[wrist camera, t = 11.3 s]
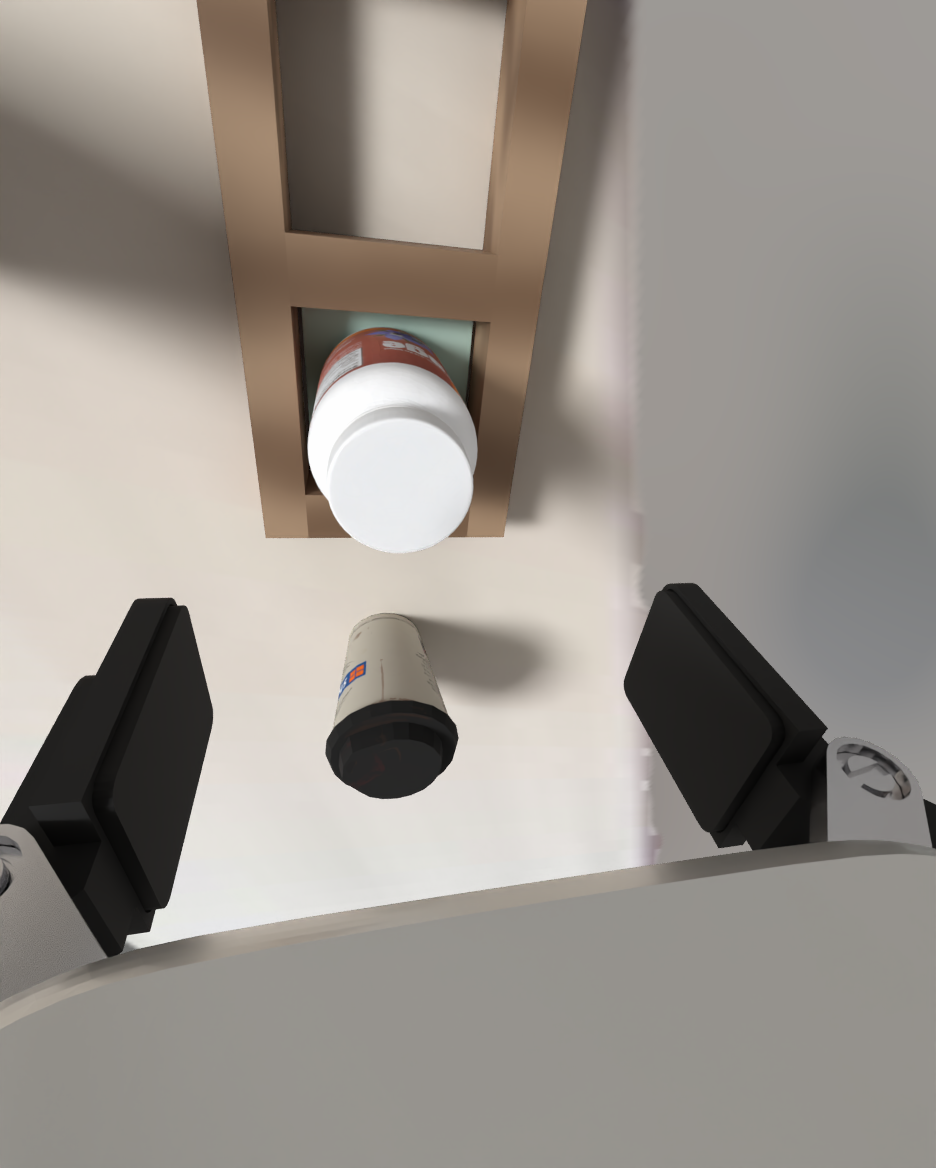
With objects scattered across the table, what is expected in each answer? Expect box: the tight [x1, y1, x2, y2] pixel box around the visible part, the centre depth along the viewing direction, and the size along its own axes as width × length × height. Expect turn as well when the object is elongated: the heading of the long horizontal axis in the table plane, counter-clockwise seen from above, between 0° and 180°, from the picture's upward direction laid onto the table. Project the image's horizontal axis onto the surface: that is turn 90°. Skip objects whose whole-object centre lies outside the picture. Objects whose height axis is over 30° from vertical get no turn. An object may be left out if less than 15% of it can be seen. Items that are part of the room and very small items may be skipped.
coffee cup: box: [326, 613, 459, 799], centre depth 31 cm, size 7×7×10 cm
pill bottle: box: [308, 327, 477, 553], centre depth 21 cm, size 6×6×11 cm
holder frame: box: [197, 0, 587, 538], centre depth 22 cm, size 23×12×3 cm, turn 174°
